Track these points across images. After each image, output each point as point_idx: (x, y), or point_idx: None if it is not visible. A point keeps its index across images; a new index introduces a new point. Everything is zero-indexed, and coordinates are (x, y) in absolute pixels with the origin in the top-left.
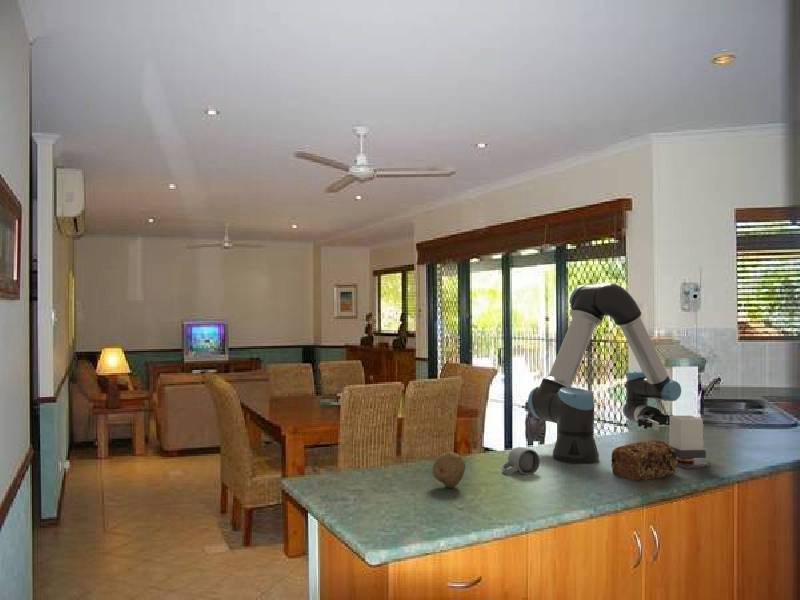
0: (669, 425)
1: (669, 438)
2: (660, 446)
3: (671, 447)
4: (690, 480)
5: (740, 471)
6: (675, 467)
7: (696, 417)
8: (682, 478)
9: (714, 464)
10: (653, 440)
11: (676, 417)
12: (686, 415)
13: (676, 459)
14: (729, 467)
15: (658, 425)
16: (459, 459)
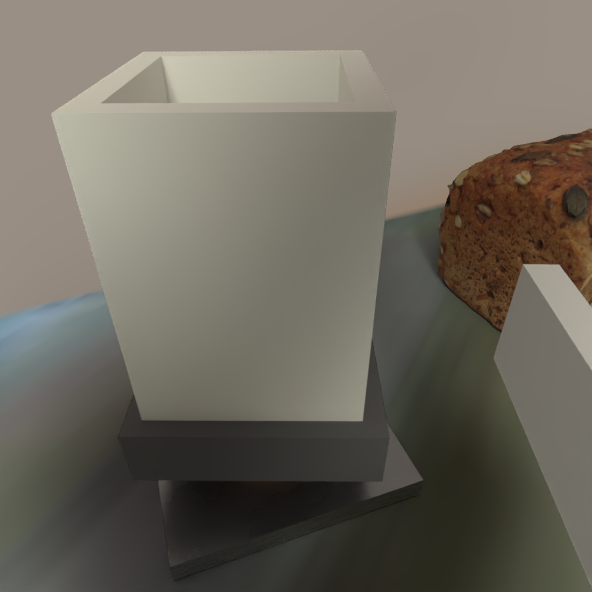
0: (381, 246)
1: (367, 368)
2: (548, 142)
3: (375, 362)
4: (404, 229)
5: (81, 302)
6: (441, 249)
7: (126, 71)
8: (425, 245)
9: (62, 425)
10: (588, 165)
11: (365, 71)
12: (117, 113)
13: (442, 215)
14: (49, 361)
15: (520, 302)
16: None
